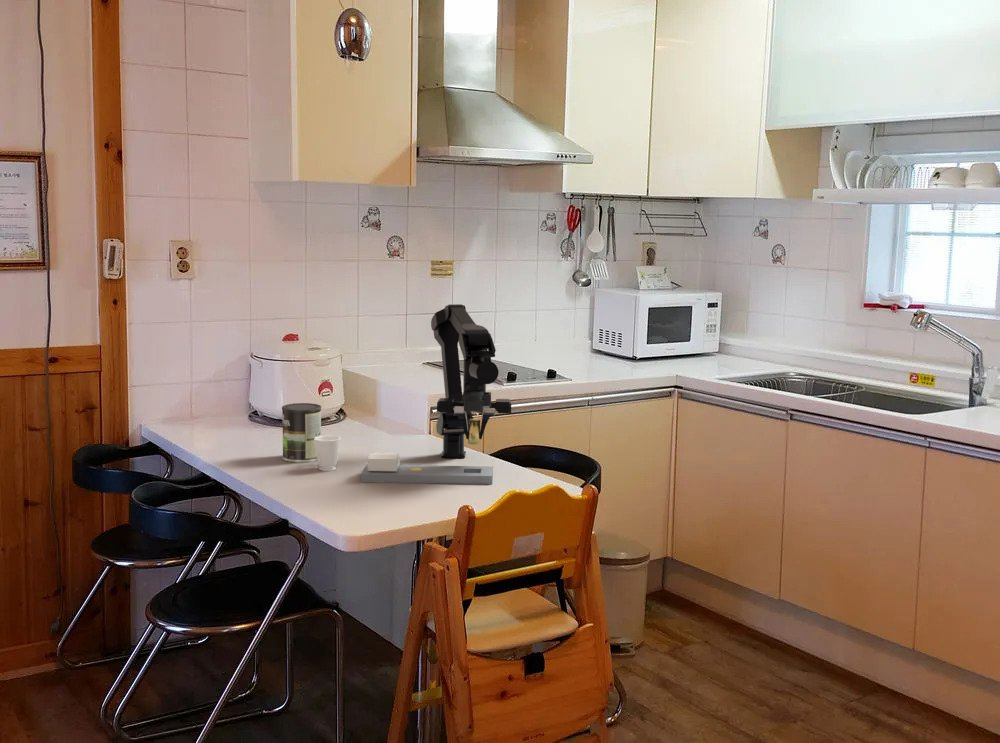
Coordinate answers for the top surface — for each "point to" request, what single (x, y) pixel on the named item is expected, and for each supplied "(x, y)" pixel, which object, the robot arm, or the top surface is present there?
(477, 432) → the pin
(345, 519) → the top surface
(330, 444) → the cup
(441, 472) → the board
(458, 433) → the robot arm
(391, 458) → the cover
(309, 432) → the coffee can
